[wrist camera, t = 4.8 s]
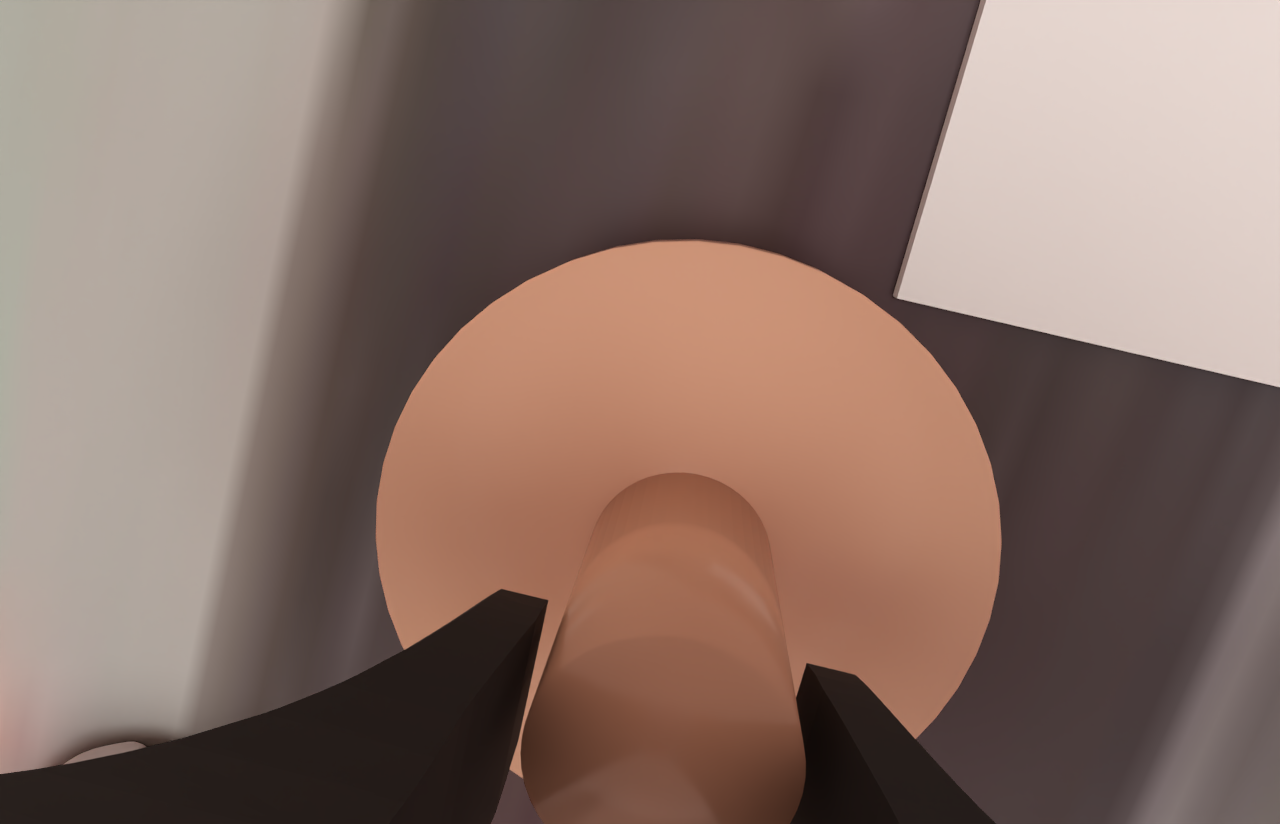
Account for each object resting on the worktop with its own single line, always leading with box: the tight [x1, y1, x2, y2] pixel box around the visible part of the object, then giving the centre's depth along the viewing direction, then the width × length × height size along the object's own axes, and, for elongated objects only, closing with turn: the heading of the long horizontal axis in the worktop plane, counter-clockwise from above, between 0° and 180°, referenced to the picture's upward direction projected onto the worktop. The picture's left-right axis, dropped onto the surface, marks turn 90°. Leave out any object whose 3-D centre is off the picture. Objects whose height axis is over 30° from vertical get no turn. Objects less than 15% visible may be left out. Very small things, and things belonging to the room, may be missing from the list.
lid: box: [376, 239, 1002, 824], centre depth 11 cm, size 10×10×6 cm
